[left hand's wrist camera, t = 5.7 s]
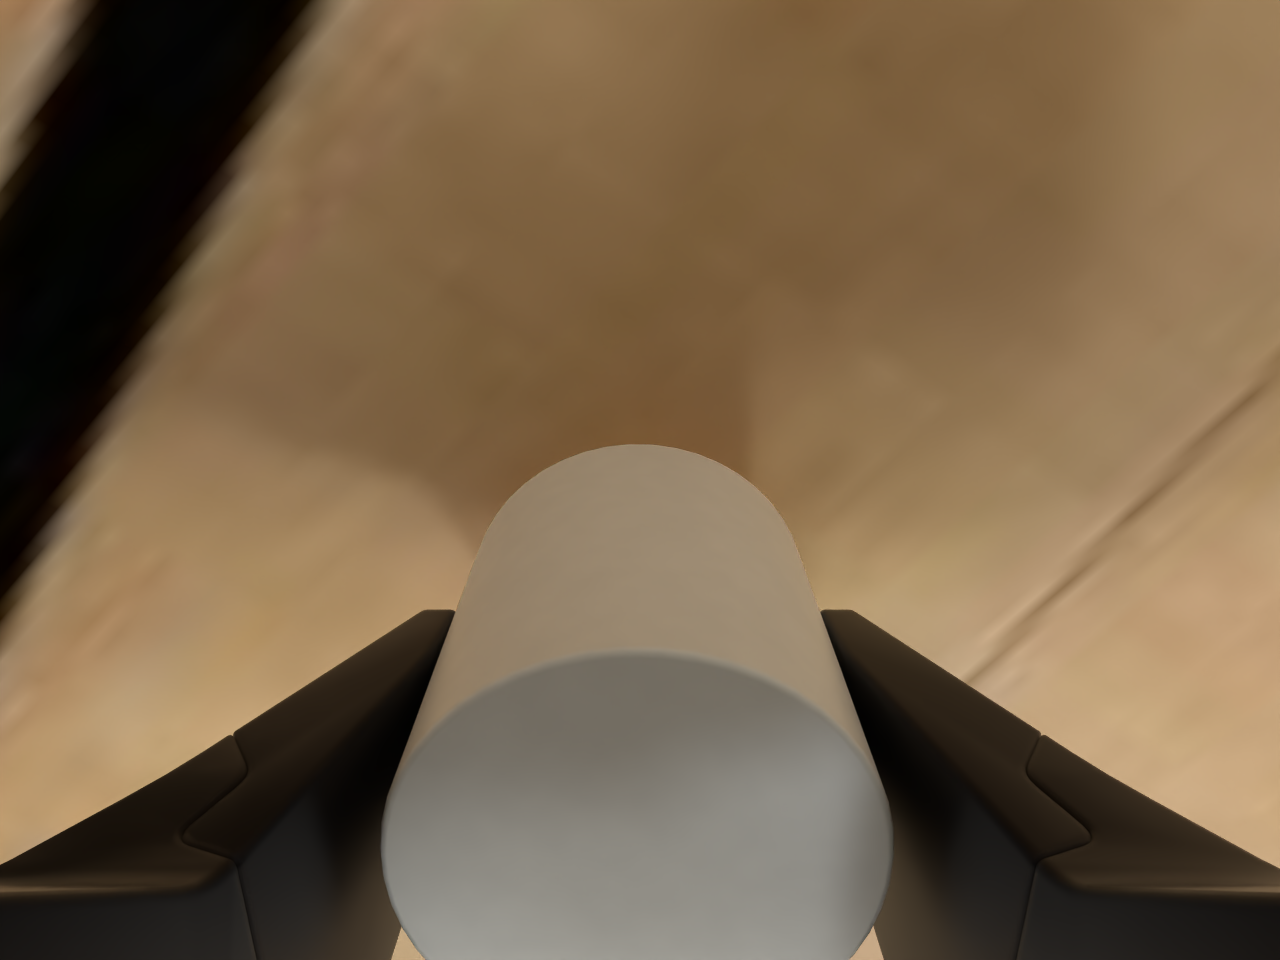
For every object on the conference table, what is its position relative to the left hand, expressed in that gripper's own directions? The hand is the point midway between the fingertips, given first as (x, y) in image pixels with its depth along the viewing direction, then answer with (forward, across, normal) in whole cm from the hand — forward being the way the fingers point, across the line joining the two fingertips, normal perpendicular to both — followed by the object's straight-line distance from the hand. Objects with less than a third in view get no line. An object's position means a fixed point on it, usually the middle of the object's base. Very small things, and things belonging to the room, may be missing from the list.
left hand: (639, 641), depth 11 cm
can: (+1, 0, 0) cm, 1 cm away
